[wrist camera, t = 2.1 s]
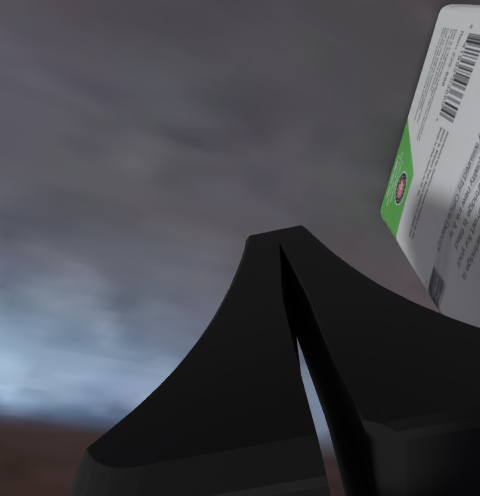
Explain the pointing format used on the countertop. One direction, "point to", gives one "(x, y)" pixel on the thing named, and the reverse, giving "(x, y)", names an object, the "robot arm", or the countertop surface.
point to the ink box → (443, 169)
